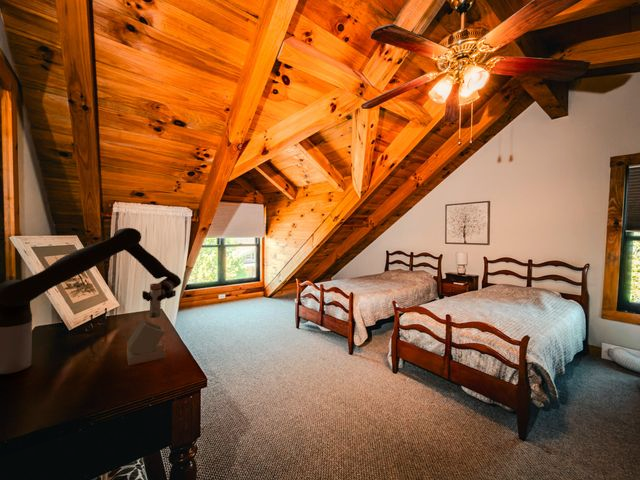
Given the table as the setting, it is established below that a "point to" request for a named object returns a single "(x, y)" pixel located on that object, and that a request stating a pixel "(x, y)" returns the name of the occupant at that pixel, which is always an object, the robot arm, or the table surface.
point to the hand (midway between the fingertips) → (153, 298)
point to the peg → (155, 300)
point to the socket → (146, 343)
